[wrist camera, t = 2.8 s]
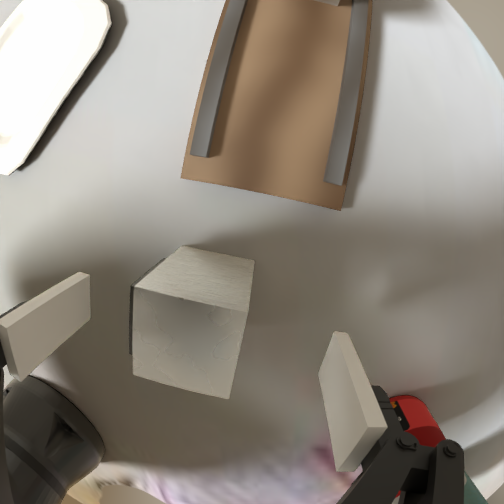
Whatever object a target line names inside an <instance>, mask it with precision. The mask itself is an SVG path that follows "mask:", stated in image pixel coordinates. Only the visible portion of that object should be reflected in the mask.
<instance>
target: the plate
mask: <svg viewBox="0 0 504 504" xmlns="http://www.w3.org/2000/svg"><path fill="white" fill-rule="evenodd" d="M111 25H112V21H111V16H110V11H109V6H108V5H107V4H106V3H105V2H104V1H102V0H23V1H22V2H21V3H20V4H19V6H18V7H17V8H16V9H15V10H14V11H13V13H12V14H11V15H10V16H9V17H8V19H7V20H6V21H5V23H4V24H3V26H2V27H1V28H0V174H5V175H11V174H12V173H13V172H14V171H15V170H16V169H18V168H19V167H20V166H21V165H22V164H24V163H25V161H26V160H27V158H28V157H29V155H30V153H31V152H32V150H33V149H34V147H35V146H36V144H37V143H38V142H39V140H40V139H41V137H42V135H43V134H44V132H45V131H46V129H47V127H48V126H49V124H50V123H51V121H52V119H53V118H54V116H55V115H56V113H57V112H58V110H59V109H60V107H61V106H62V104H63V103H64V101H65V100H66V98H67V97H68V96H69V94H70V93H71V91H72V90H73V88H74V87H75V86H76V84H77V83H78V82H79V80H80V79H81V77H82V76H83V74H84V73H85V71H86V70H87V68H88V67H89V65H90V64H91V62H92V61H93V60H94V58H95V57H96V55H97V54H98V53H99V51H100V50H101V48H102V46H103V43H104V41H105V39H106V36H107V34H108V32H109V30H110V28H111Z"/></svg>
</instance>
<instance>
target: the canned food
mask: <svg viewBox="0 0 504 504" xmlns="http://www.w3.org/2000/svg"><path fill="white" fill-rule="evenodd" d="M389 400H390V403H391V404H392V406H393V410H394V411H395V413H396V415H397V417H398V420H399V422H400V424H401V426H402V429H403V431H405V432H408V433H411V434H412V435H413V436H415V437H416V438H417V440H418V441H419V444H420V445H423V446H429V447H436V446H437V444H438V443H439V442H440V441H442V440H445V439H446V438H445V437H444V435H443V433H442V431H441V430H440V428H439V426H438V425H437V423H436V421H435V420H434V418H433V416H432V415H431V413H430V411H429V410H428V408H427V407H426V405H425V404H424V403H423V402H422V401H421V400H419V399H418V398H416V397H414V396H409V395H402V396H396V397H393V398H389ZM466 481H467V479H466V477H465V473H464V486H465V484H466ZM400 493H401V491H399V492H398V494H397V495H396V497H395V499H394V501H393V502H392V504H398V501H399V497H400Z"/></svg>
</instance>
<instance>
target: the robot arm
mask: <svg viewBox="0 0 504 504" xmlns="http://www.w3.org/2000/svg"><path fill="white" fill-rule="evenodd" d="M90 319H91V310H90V275H88V274H85V273H82V272H78V273H76V274H74V275H72V276H70V277H69V278H67V279H65V280H63V281H62V282H60V283H58V284H56V285H55V286H53V287H51V288H50V289H48V290H46V291H44V292H43V293H41V294H39V295H38V296H36V297H34V298H33V299H31V300H29V301H27V302H23V303H20V304H18V305H17V306H15V307H13V309H10V310H9V311H8V312H5V313H4V314H2V315H1V316H0V504H61V502H62V500H63V498H64V496H65V495H66V493H67V491H68V490H69V489H70V488H71V487H72V486H73V485H75V484H76V483H77V482H79V481H80V480H81V479H83V478H84V477H85V476H87V475H88V474H89V473H90V472H92V471H93V470H94V469H95V468H96V467H97V466H98V465H99V463H100V461H101V459H102V457H103V455H104V452H105V449H104V444H103V442H102V440H101V438H100V436H99V434H98V432H97V431H96V430H95V428H94V427H93V426H92V424H91V423H90V422H89V421H88V419H87V418H86V417H85V416H84V415H83V414H82V413H81V412H80V411H79V410H78V409H77V408H76V407H75V406H74V405H73V404H72V403H71V402H69V401H68V400H67V399H66V398H65V397H64V396H62V395H61V394H60V393H58V392H57V391H56V390H54V389H53V388H51V387H50V386H48V385H47V384H45V383H43V382H42V381H40V380H38V379H36V378H33V377H30V376H28V375H29V374H30V373H31V372H32V371H33V370H34V369H35V368H36V367H37V366H38V365H40V364H41V363H42V362H43V361H44V360H45V359H46V358H47V357H48V356H49V355H50V354H52V353H53V352H54V351H55V350H56V349H57V348H58V347H59V346H60V345H62V344H63V343H64V342H65V341H66V340H67V339H68V338H69V337H71V336H72V335H73V334H74V333H75V332H76V331H77V330H78V329H80V328H81V327H82V326H83V325H84V324H85V323H87V322H88V321H89V320H90ZM6 364H7V367H8V370H9V373H10V375H11V376H13V377H14V379H13V380H12V381H11V382H10V383H9V384H8V385H7V386H6V388H5V390H4V392H3V388H4V371H3V367H4V366H5V365H6ZM318 377H319V381H320V386H321V391H322V396H323V401H324V406H325V412H326V417H327V422H328V427H329V433H330V438H331V444H332V450H333V455H334V461H335V467H336V472H354V471H355V470H356V469H357V468H358V466H359V465H360V464H361V465H362V469H363V472H362V473H361V474H360V475H359V476H358V477H357V479H356V480H355V481H354V482H353V483H352V485H351V487H350V488H349V489H348V490H347V492H346V493H345V494H344V495H343V496H342V498H341V499H340V500H339V501H338V502H337V503H336V504H392V502H393V501H394V499H395V497H396V495H397V494H398V492H399V491H401V493H400V497H399V501H398V504H464V453H463V449H462V448H461V446H460V445H459V444H458V443H456V442H455V441H452V440H448V439H445V440H442V441H440V442H439V443H438V444H437V446H436V447H429V446H423V445H420V444H419V441H418V440H417V438H416V437H415V436H413V435H412V434H411V433H408V432H405V431H403V429H402V426H401V424H400V422H399V420H398V417H397V415H396V413H395V411H394V410H393V406H392V404H391V403H390V400H389V397H388V395H387V393H386V392H385V391H384V390H383V389H382V388H381V387H380V386H371V385H370V382H369V380H368V378H367V375H366V373H365V371H364V368H363V366H362V364H361V361H360V359H359V357H358V355H357V352H356V350H355V348H354V346H353V343H352V341H351V339H350V337H349V334H348V333H344V332H337V331H334V333H333V335H332V338H331V341H330V344H329V346H328V349H327V352H326V354H325V357H324V359H323V362H322V364H321V367H320V370H319V372H318Z"/></svg>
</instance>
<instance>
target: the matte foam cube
mask: <svg viewBox="0 0 504 504" xmlns="http://www.w3.org/2000/svg"><path fill="white" fill-rule="evenodd" d="M254 263H255V260H250V259H245V258H240V257H235V256H230V255H226V254H221V253H216V252H211V251H206V250H202V249H197V248H192V247H187V246H181V247H180V248H179V249H177V250H176V251H175V252H174V253H173V254H171V255H170V256H169V257H168V258H167V259H165V258H164V259H162V260H161V261H160V262H159V263H157V264H156V265H155V266H154V267H153V268H151V269H150V270H149V271H148V272H146V273H145V274H144V275H143V276H142V277H140V278H139V279H138V280H137V281H136V282H135V283H133V284H132V285H131V289H130V319H129V354H132V355H133V375H135V376H139V377H142V378H145V379H148V380H152V381H155V382H159V383H162V384H166V385H169V386H173V387H177V388H181V389H184V390H189V391H193V392H197V393H201V394H206V395H210V396H215V397H220V398H224V399H229V396H230V392H231V388H232V383H233V379H234V374H235V370H236V365H237V361H238V357H239V352H240V348H241V343H242V339H243V334H244V330H245V325H246V321H247V316H248V311H249V303H250V295H251V287H252V279H253V271H254Z"/></svg>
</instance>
